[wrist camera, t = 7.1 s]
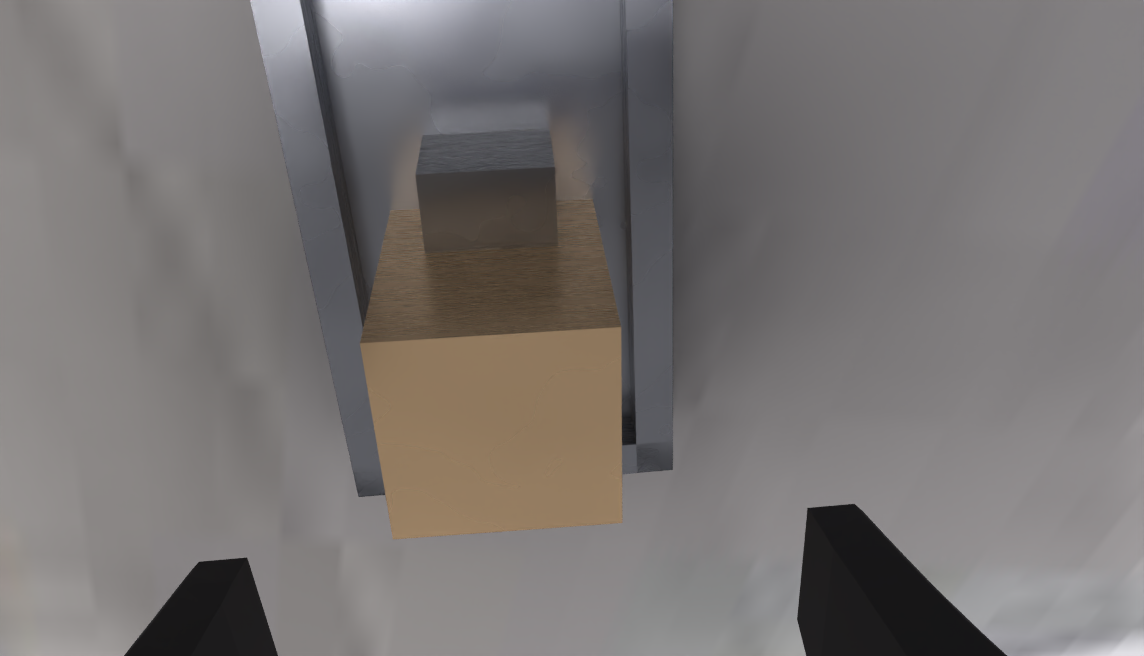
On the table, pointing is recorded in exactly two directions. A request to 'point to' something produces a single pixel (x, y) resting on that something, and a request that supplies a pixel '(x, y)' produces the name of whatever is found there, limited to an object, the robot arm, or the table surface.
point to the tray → (467, 105)
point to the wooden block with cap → (494, 347)
